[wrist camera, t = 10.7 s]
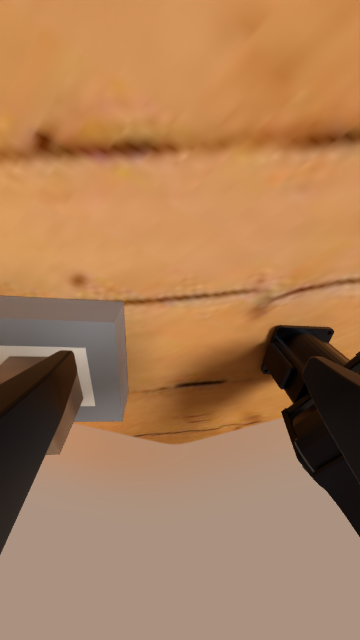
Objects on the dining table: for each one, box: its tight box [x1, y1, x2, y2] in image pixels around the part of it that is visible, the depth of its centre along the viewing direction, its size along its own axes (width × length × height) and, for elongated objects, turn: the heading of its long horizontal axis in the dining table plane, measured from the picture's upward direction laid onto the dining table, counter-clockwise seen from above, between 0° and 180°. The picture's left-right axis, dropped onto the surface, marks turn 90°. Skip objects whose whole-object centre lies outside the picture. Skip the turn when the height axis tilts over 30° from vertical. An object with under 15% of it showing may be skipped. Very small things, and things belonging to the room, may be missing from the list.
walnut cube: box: [0, 356, 83, 455], centre depth 16 cm, size 5×5×5 cm
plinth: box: [0, 296, 128, 422], centre depth 20 cm, size 12×12×4 cm
